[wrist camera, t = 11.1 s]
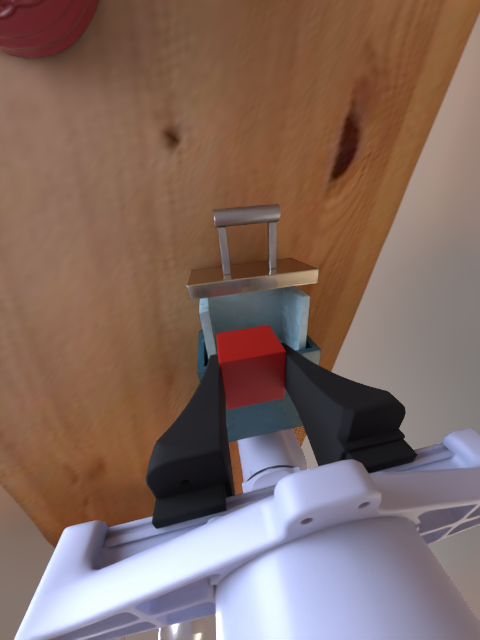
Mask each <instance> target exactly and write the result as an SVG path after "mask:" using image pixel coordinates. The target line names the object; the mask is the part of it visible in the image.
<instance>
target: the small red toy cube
mask: <svg viewBox="0 0 480 640" xmlns="http://www.w3.org/2000/svg"><path fill="white" fill-rule="evenodd" d="M216 339H217V349H218V359H219V366H220V371H221V377H222V383H223V388H224V394H225V400H226V406H227V409H228V410H229V409H234V408H238V407H243V406H248V405H253V404H258V403H263V402H268V401H273V400H278V399H283V398H285V368H286V350H285V349H284V347H283V346H282V344H281V343H280V341H279V340H278V338H277V336H276V335H275V333H274V332H273V330H272V329H271V327H270V326H269V325H265V326H259V327H253V328H247V329H240V330H234V331H228V332H222V333H217V334H216Z"/></svg>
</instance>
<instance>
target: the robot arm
mask: <svg viewBox="0 0 480 640" xmlns="http://www.w3.org/2000/svg"><path fill="white" fill-rule="evenodd" d="M281 344H282V346H283V347H284V349H285V350H286V368H285V389H286V391H287V393H288V394H289V396H290V398H291V400H292V402H293V404H294V406H295V408H296V410H297V412H298V414H299V417H300V419H301V421H302V424H303V426H304V429H305V431H306V434H307V436H308V439H309V441H310V444H311V447H312V450H313V452H314V455H315V457H316V460H317V463H318V467H314V468H310V469H306V468H307V467H306V459H305V456H304V453H303V451H302V449H301V446H300V444H299V442H298V439H297V437H296V435H295V432H294V430H293V428H291V429H286V430H282V431H277V432H273V433H268V434H264V435H259V436H255V437H250V438H246V439H241V440H238V447H239V453H240V460H241V466H242V473H243V479H244V483H242V486H243V493H241V494H239V495H235V490H234V483H233V475H232V467H231V459H230V451H229V442H228V434H227V425H226V400H225V394H224V388H223V383H222V377H221V371H220V366H219V359H218V354H214V355H210V357H209V361H208V364H207V367H206V370H205V373H204V375H203V378H202V380H201V382H200V384H199V386H198V388H197V390H196V392H195V394H194V395H193V397H192V399H191V400H190V402H189V403H188V405H187V406H186V408H185V409H184V410H183V412H182V413H181V414H180V416H179V417H178V418H177V419H176V421H175V422H174V423H173V424H172V425H171V427H170V428H169V429H168V430H167V431H166V432H165V433H164V434H163V435H162V436H161V437H160V438H159V439H158V440H157V441H156V444H155V446H154V449H153V452H152V455H151V457H150V461H149V465H148V470H147V475H146V483H147V485H148V487H149V488H150V490H151V491H152V493H153V494H154V496H155V498H156V501H155V506H154V512H153V516H152V517H148V518H144V519H140V520H136V521H132V522H128V523H124V524H120V525H116V526H112V527H108V526H107V524H106V523H105V522H103V521H99V520H96V521H90V522H86V523H82V524H78V525H74V526H70V527H67V528H66V529H64V531H63V533H62V535H61V538H60V540H59V542H58V544H57V546H56V549H55V551H54V553H53V555H52V557H51V560H50V562H49V564H48V566H47V568H46V571H45V573H44V575H43V577H42V579H41V582H40V584H39V586H38V588H37V590H36V593H35V595H34V597H33V599H32V602H31V603H30V606H29V608H28V610H27V612H26V614H25V617H24V619H23V621H22V623H21V625H20V628H19V630H18V632H17V634H16V637H15V639H14V640H113V639H117V638H121V637H125V636H128V635H132V634H136V633H141V632H145V631H149V630H153V629H157V628H161V627H166V626H170V625H174V624H178V623H182V622H186V621H190V620H195V619H199V618H203V617H207V616H211V615H215V614H216V633H217V640H480V620H479V619H478V618H477V616H476V615H475V613H474V612H473V610H472V609H471V607H470V606H469V604H468V603H467V602H466V600H465V599H464V597H463V596H462V595H461V593H460V591H459V590H458V589H457V587H456V586H455V584H454V583H453V582H452V580H451V579H450V577H449V576H448V574H447V573H446V571H445V570H444V568H443V567H442V566H441V564H440V563H439V561H438V560H437V558H436V557H435V556H434V554H433V553H432V551H431V550H430V548H429V547H428V545H429V544H431V543H433V542H436V541H439V540H441V539H444V538H446V537H449V536H451V535H454V534H456V533H459V532H462V531H464V530H466V529H469V528H472V527H475V526H477V525H480V434H479V433H478V432H477V431H476V430H474V429H473V428H466V429H462V430H458V431H454V432H451V433H449V434H447V435H446V436H445V438H444V439H443V442H442V443H440V444H436V445H432V446H428V447H424V448H420V449H416V450H413V449H412V448H411V447H410V446H409V445H408V444H407V442H406V441H405V440H404V439H403V438H405V436H404V434H403V433H402V432H401V431H400V430H399V427H400V425H401V423H402V421H403V419H404V416H405V407H404V406H403V405H402V404H401V403H400V402H399V401H398V400H397V399H396V398H395V397H394V396H393V395H392V394H390V393H389V392H388V391H384V390H381V389H377V388H373V387H369V386H366V385H363V384H360V383H357V382H354V381H351V380H349V379H346V378H344V377H341V376H339V375H336V374H334V373H332V372H330V371H328V370H326V369H324V368H322V367H320V366H318V365H317V364H315V363H313V362H312V361H310V360H308V359H307V358H305V357H304V356H302V355H301V354H299V353H298V352H296V351H295V350H294V349H292V348H291V347H289V346H288V345H287V344H285V343H281Z"/></svg>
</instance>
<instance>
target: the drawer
mask: <svg viewBox="0 0 480 640" xmlns="http://www.w3.org/2000/svg"><path fill="white" fill-rule="evenodd" d="M213 218H214V225H215V228H217V227H218V236H219V244H220V252H221V260H222V266H218V267H209V268H201V269H193V270H191V273H190V277H189V280H188V284H187V290H188V294H189V299H190V300H196V299H200V306H199V314H200V319H201V324H202V329H203V334H204V339H205V344H206V349H207V354H208V359H209V357H210V355H214V354H218V349H217V339H216V334H217V333H222V332H228V331H234V330H240V329H247V328H253V327H259V326H265V325H269V326H270V327H271V329H272V330H273V332H274V333H275V335H276V336H277V338H278V340H279V341H280V343H285V344H287V345H288V346H289V347H291V348H292V349H294V350H301V349H305V347H306V336H307V325H308V314H309V303H310V296H309V295H308V294H306V293H305V292H303V291H302V290H300V289H299V288H297V287H296V286H298V285H305V284H312V283H317V282H318V273H319V269H318V268H316V267H313V266H311V265H308V264H306V263H303V262H301V261H298V260H296V259H293V258H284V259H276V222H278V221H279V219H280V206H279V204H271V205H260V206H248V207H237V208H226V209H215V210H213ZM257 223H267V231H268V260H267V261H259V262H251V263H242V264H234V265H230V262H229V253H228V243H227V234H226V227H227V226H237V225H247V224H257Z"/></svg>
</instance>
